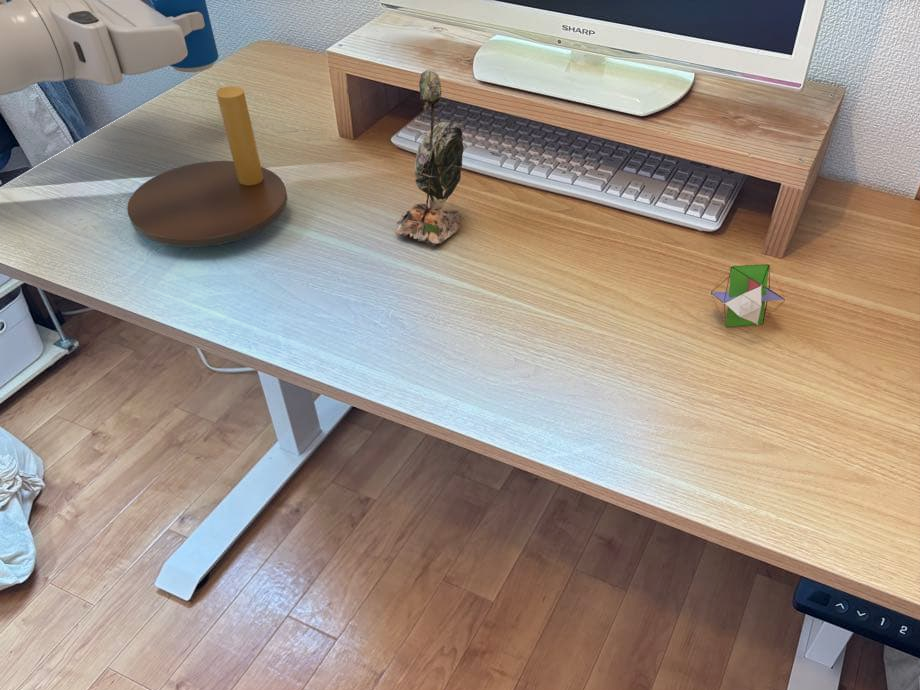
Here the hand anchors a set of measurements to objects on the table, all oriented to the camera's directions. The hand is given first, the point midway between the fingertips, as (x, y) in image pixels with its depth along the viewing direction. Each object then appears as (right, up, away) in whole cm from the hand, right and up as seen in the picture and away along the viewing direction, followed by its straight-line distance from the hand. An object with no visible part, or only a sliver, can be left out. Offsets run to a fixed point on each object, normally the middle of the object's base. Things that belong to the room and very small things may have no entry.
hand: (186, 8), depth 97 cm
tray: (+4, -24, -1) cm, 25 cm away
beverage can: (-1, -5, +4) cm, 7 cm away
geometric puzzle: (+65, -39, -10) cm, 77 cm away
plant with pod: (+30, -26, +1) cm, 40 cm away
